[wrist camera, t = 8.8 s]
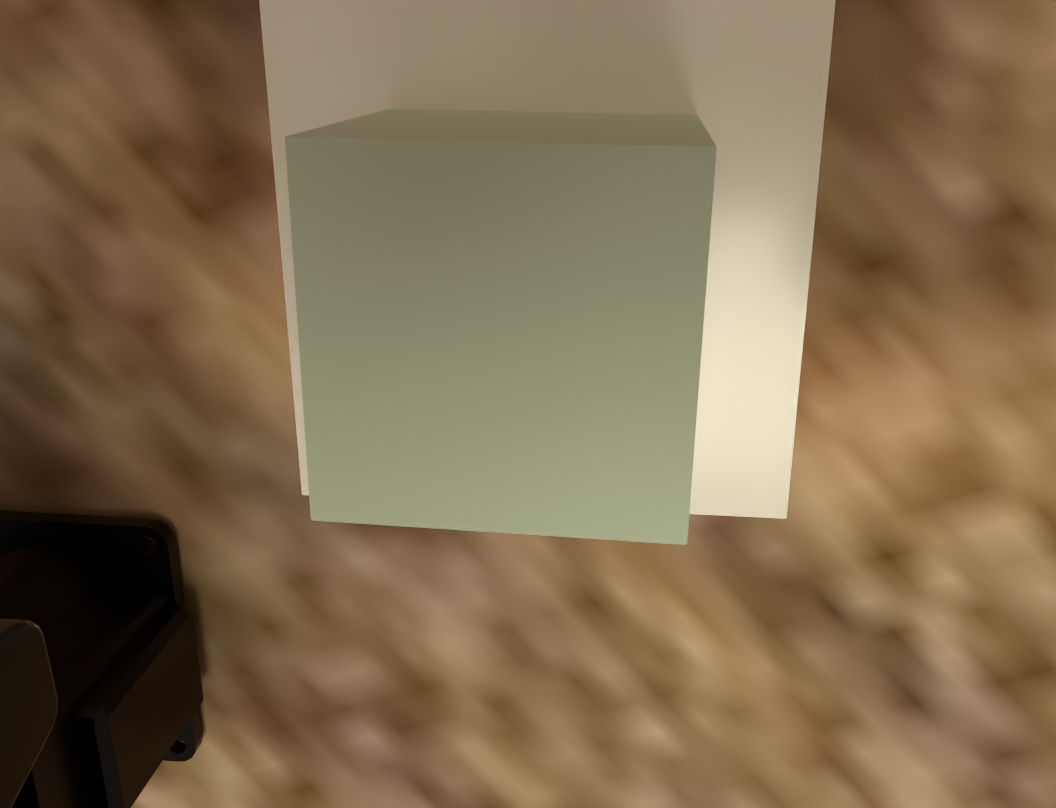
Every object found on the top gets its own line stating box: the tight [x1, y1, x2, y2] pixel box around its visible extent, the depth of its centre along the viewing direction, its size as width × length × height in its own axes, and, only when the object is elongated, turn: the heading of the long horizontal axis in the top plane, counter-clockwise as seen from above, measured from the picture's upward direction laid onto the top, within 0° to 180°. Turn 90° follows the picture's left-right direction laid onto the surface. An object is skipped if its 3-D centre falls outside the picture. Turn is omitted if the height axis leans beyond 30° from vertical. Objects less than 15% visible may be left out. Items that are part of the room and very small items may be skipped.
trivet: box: [259, 0, 836, 519], centre depth 18 cm, size 9×9×3 cm
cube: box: [285, 109, 717, 545], centre depth 15 cm, size 5×5×5 cm
